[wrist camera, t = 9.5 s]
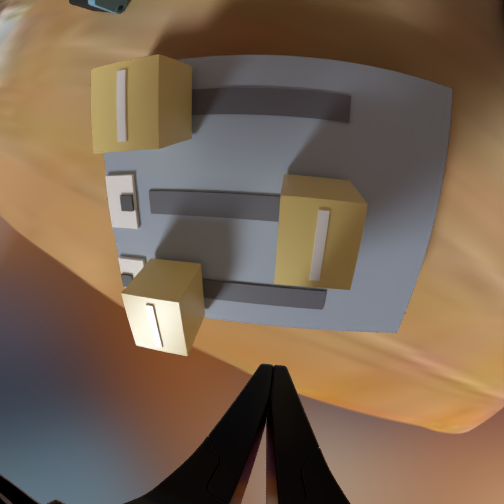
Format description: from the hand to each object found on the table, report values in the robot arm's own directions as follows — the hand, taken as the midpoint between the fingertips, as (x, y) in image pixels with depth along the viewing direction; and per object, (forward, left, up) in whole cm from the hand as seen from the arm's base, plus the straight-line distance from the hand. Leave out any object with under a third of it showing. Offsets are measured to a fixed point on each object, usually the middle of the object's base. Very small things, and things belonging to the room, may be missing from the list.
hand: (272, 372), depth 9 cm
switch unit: (+1, -4, -7) cm, 8 cm away
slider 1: (+5, -8, -4) cm, 10 cm away
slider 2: (+5, 0, -4) cm, 6 cm away
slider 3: (-1, -4, -4) cm, 6 cm away
